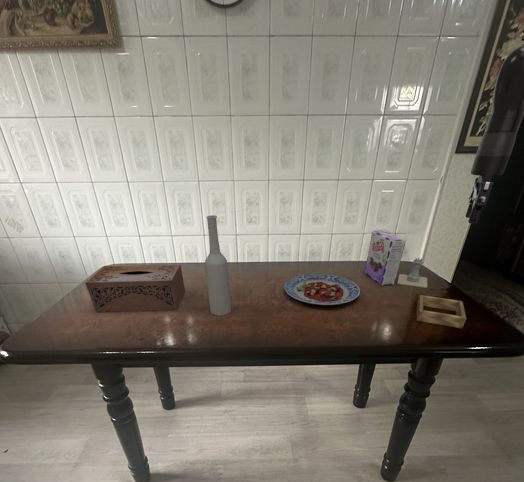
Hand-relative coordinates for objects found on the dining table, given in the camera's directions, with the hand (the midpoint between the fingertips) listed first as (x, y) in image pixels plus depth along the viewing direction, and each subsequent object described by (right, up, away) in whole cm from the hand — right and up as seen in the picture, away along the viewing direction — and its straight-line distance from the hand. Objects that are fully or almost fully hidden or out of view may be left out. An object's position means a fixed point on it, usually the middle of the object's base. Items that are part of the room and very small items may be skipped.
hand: (470, 220), depth 87 cm
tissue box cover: (-101, -21, +15) cm, 104 cm away
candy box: (-16, -10, +29) cm, 35 cm away
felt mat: (-4, -12, +26) cm, 29 cm away
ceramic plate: (-40, -18, +18) cm, 48 cm away
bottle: (-74, -25, +8) cm, 79 cm away
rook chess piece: (-4, -12, +26) cm, 29 cm away
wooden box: (-7, -27, +4) cm, 28 cm away
